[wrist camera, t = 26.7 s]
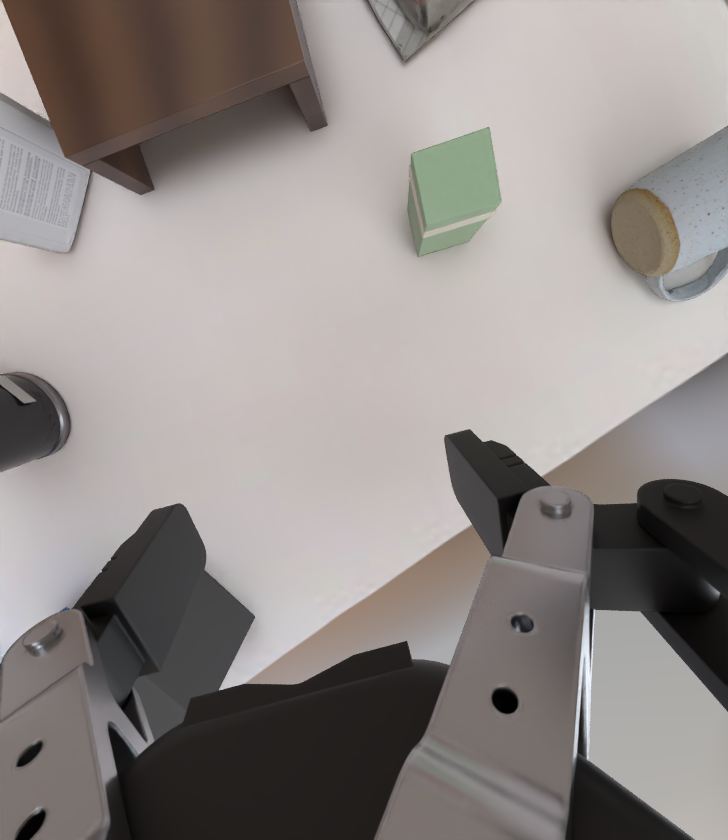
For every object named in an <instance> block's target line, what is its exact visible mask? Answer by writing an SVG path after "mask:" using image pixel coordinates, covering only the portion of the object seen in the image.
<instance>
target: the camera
mask: <svg viewBox="0 0 728 840" xmlns="http://www.w3.org/2000/svg"><path fill="white" fill-rule="evenodd" d="M65 610H70V609H69V608H68V607H66V608H64V609H63V610H62V611H65ZM62 611H60V612H62ZM254 618H255V616H253V615H252V614H251V613H250V612H249V611H248V610H247V609H246V608H245V607H244V606H243V605H242V604H240V603H239V602H238V601H237V600H236V599H235V598H234V597H233V596H232V595H231V594H230V593H228V592H227V591H226V590H225V589H224V588H223V587H222V586H221V585H220V584H219V583H218V582H217V581H215V580H214V579H213V578H212V577H211V576H210V575H209V574H208V573H207V572H206V571H205V570H203V572H202V574H201V577H200V579H199V581H198V584H197V586H196V589H195V591H194V593H193V596H192V598H191V600H190V603H189V605H188V608H187V610H186V612H185V615H184V617H183V620H182V622H181V624H180V627H179V629H178V632H177V634H176V636H175V639H174V641H173V643H172V646H171V648H170V651H169V653H168V655H167V658H166V660H165V663H164V665H163V667H162V670H161V671H160V672H156V673H153V674H149V675H145V676H141V677H137V679H136V681H135V683H134V685H133V687H134V688H135V690H136V691H137V693H138V694H139V696H140V699H141V702H142V705H143V708H144V711H145V714H146V717H147V720H148V723H149V726H150V729H151V732H152V735H153V738H154V741H156V740H157V739H158V738H159V737H161V736H162V735H163V734H165V733H166V732H168V731H169V730H171V729H172V728H174V727H176V726H177V725H179V724H181V723H182V722H183V721H184V717H185V714H186V711H187V708H188V705H189V702H190V699H191V698H193V697H197V696H201V695H204V694H208V693H212V692H216V691H218V690H219V688H220V686H221V684H222V682H223V680H224V678H225V676H226V674H227V672H228V670H229V668H230V666H231V664H232V662H233V660H234V658H235V656H236V654H237V652H238V650H239V648H240V646H241V644H242V642H243V640H244V638H245V636H246V634H247V632H248V630H249V628H250V626H251V624H252V622H253V620H254Z"/></svg>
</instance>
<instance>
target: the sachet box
mask: <svg viewBox="0 0 728 840" xmlns="http://www.w3.org/2000/svg"><path fill="white" fill-rule="evenodd" d="M409 178H410V182H409V196H408V214H409V219H410V223H411V228H412V233H413V237H414V242H415V246H416V251H417V256H422V255H425V254H429V253H432V252H435V251H439V250H442V249H445V248H449V247H452V246H455V245H459V244H462V243H465V242H468V241H469V240H470V239H471V238H472V236H473V235H474V234H475V233H476V232H477V231H478V229H479V228H480V227H481V226H482V225H483V223H484V222H485V221H486V220H487V219H488V218H490V217H491V216H492V215H493V213H494V212H495V209H496V208H497V207H498V206H499V205H500V203H501V202H502V200H501V194H500V188H499V182H498V176H497V170H496V164H495V158H494V152H493V146H492V140H491V134H490V128H489V127H487V128H484V129H481V130H479V131H476V132H473V133H470V134H467V135H464V136H461V137H458V138H455V139H452V140H449V141H446V142H444V143H441V144H438V145H435V146H432V147H429V148H426V149H423V150H420V151H417V152H414V153H412V154H411V164H410V167H409Z"/></svg>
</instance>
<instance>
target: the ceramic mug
mask: <svg viewBox="0 0 728 840" xmlns="http://www.w3.org/2000/svg"><path fill="white" fill-rule="evenodd" d="M611 231H612V235H613V240H614V243H615V245H616V248H617V250H618V251H619V253H620V255H621V257H622V258H623V260H624V261H625V262H626V263H627V264H628V265H629V266H630V267H631V268H632V269H634V270H635V271H637V272H639V273H641V274H644V275H648V283H649V285H650V288H651V290H652V291H653V292H654V293H655V294H656V295H658V296H660V297H662V298H664V299H667V300H670V301H685V300H689V299H692V298H695V297H697V296H699V295H701V294H703V293H705V292H707V291H708V290H710V289H711V288H713V287H714V286H715V285H716V284H717V283H718V282H719V281H720V280H721V279H722V278H723V277H724V276H725V275H726V274H727V272H728V126H727V127H725V128H723V129H722V130H720V131H719V132H717V133H715V134H714V135H712V136H711V137H709V138H707V139H706V140H704V141H702V142H701V143H699V144H697V145H696V146H694V147H692V148H691V149H689V150H687V151H686V152H684V153H682V154H681V155H679V156H678V157H676V158H675V159H673V160H671V161H670V162H668V163H666V164H665V165H663V166H661V167H660V168H658V169H656V170H655V171H653V172H651V173H650V174H648V175H646V176H644V177H643V178H641V179H640V180H639V181H637V182H636V183H635V184H634V185H632V186H631V187H630V188H628V189H627V190H626V191H625V192H624V193H623V194H622V195H621V196H620V197H619V198H618V200H617V202H616V204H615V206H614V209H613V213H612V217H611ZM717 251H718V254H717V256H716V258H715V260H714V262H713V263H712V265H711V267H710V268H709V269H708V270H707V271H706V273H705V274H704V275H703V276H702V277H700V278H699V279H698V280H697V281H695V282H692V283H690V284H688V285H685V286H683V287H680V288H674V289H672V290H670V291H668V292H667V291H666V290H665V287H664V284H663V275H664V274H668V273H671V272H674V271H677V270H679V269H682V268H684V267H686V266H689V265H691V264H693V263H695V262H697V261H699V260H701V259H702V258H704V257H706V256H708V255H711V254H713V253H715V252H717Z"/></svg>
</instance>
